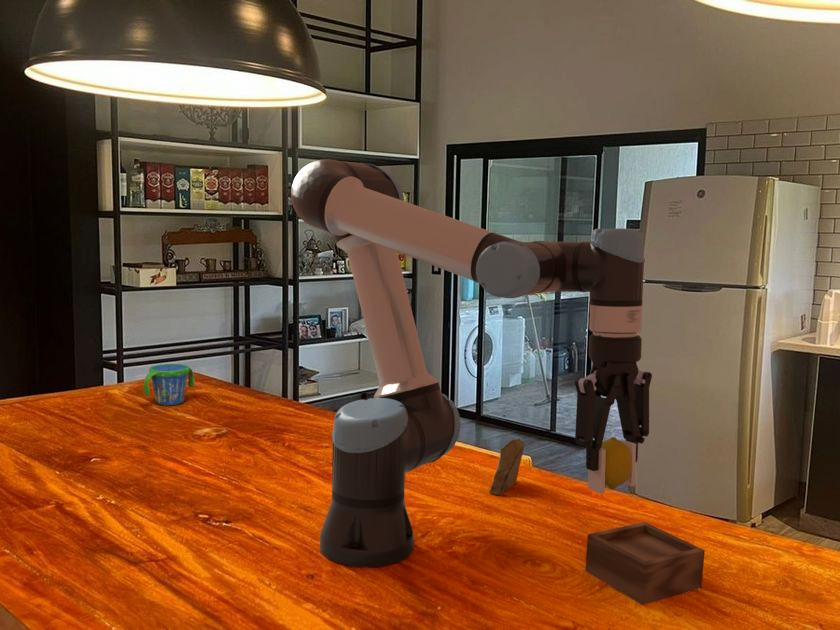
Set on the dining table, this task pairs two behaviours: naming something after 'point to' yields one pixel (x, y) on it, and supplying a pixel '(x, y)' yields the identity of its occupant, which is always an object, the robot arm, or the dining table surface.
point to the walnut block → (644, 562)
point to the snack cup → (169, 383)
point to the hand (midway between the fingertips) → (611, 486)
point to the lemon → (616, 462)
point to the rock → (507, 466)
